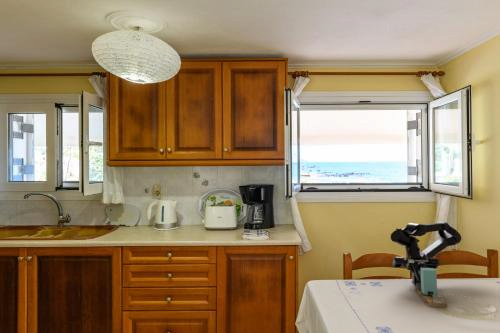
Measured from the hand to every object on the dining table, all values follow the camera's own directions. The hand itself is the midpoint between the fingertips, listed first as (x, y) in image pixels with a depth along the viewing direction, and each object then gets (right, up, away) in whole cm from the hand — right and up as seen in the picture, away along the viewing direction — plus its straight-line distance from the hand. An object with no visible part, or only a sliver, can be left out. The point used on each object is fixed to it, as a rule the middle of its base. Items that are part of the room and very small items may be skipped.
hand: (419, 280), depth 145 cm
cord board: (+1, -5, -7) cm, 8 cm away
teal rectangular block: (+1, -3, -6) cm, 7 cm away
